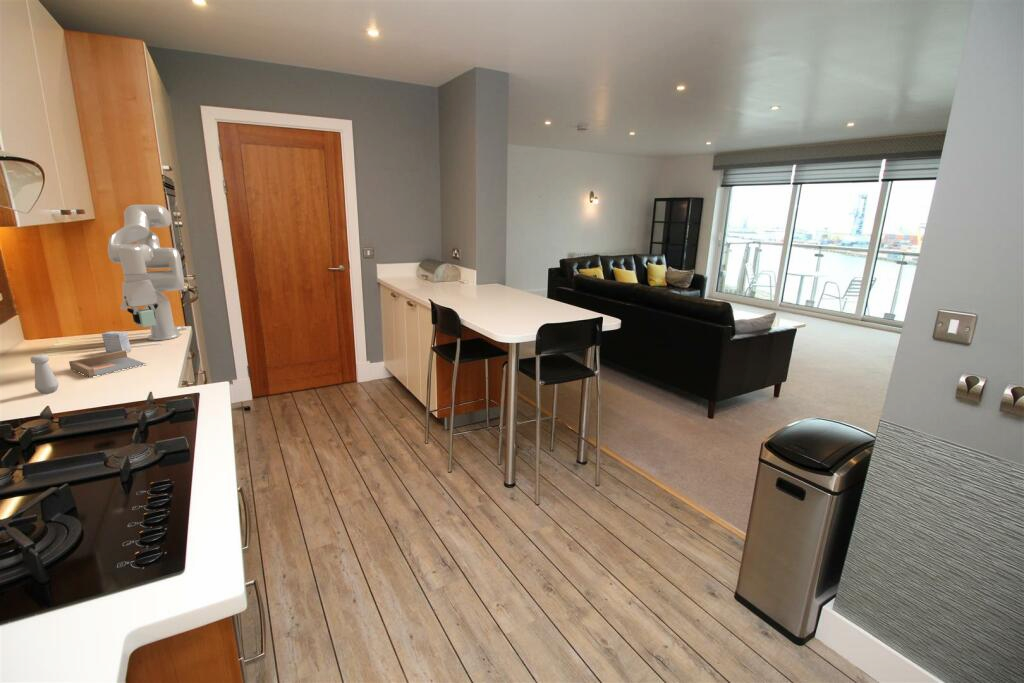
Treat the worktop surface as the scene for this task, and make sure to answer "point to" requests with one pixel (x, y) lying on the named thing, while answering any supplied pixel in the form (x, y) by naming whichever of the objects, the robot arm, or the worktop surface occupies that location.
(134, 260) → the robot arm
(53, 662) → the worktop surface
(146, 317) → the green block
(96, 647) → the worktop surface
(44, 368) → the salt shaker
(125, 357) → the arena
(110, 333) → the medicine box
